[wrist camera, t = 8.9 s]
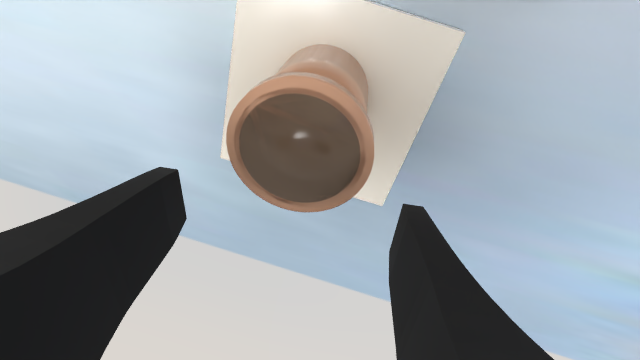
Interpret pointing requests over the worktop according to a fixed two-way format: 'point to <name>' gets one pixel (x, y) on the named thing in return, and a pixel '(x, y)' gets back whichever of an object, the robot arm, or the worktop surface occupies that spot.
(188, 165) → the worktop surface
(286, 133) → the terracotta pot
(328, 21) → the ceramic tile
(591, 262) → the worktop surface
